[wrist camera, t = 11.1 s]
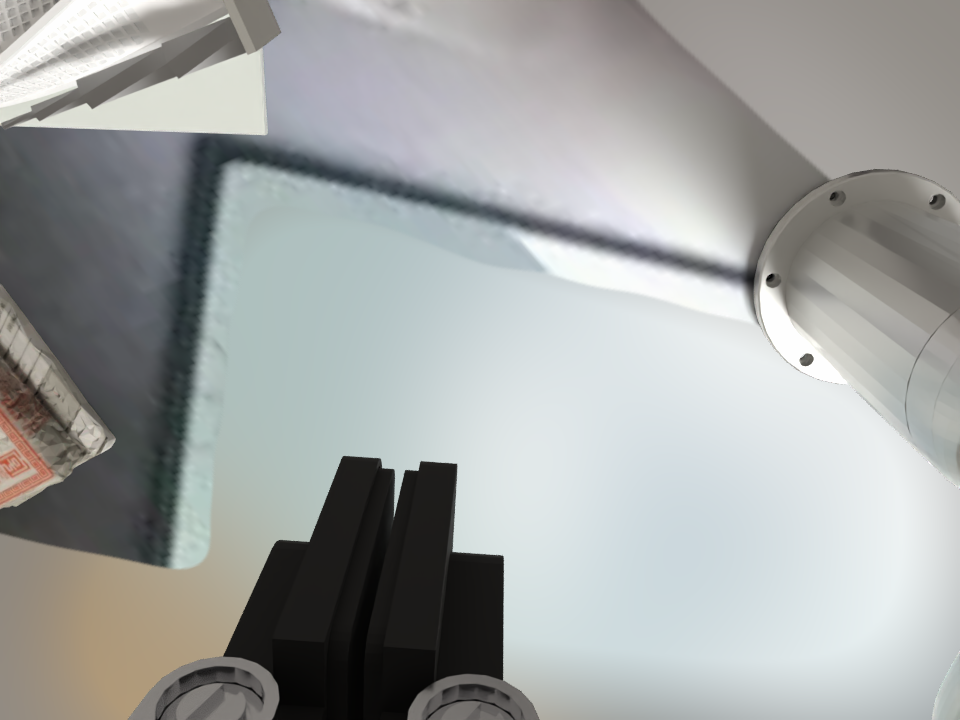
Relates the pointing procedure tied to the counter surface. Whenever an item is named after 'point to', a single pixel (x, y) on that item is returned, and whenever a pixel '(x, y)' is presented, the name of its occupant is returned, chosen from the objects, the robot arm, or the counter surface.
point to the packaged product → (39, 413)
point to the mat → (175, 103)
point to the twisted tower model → (117, 46)
